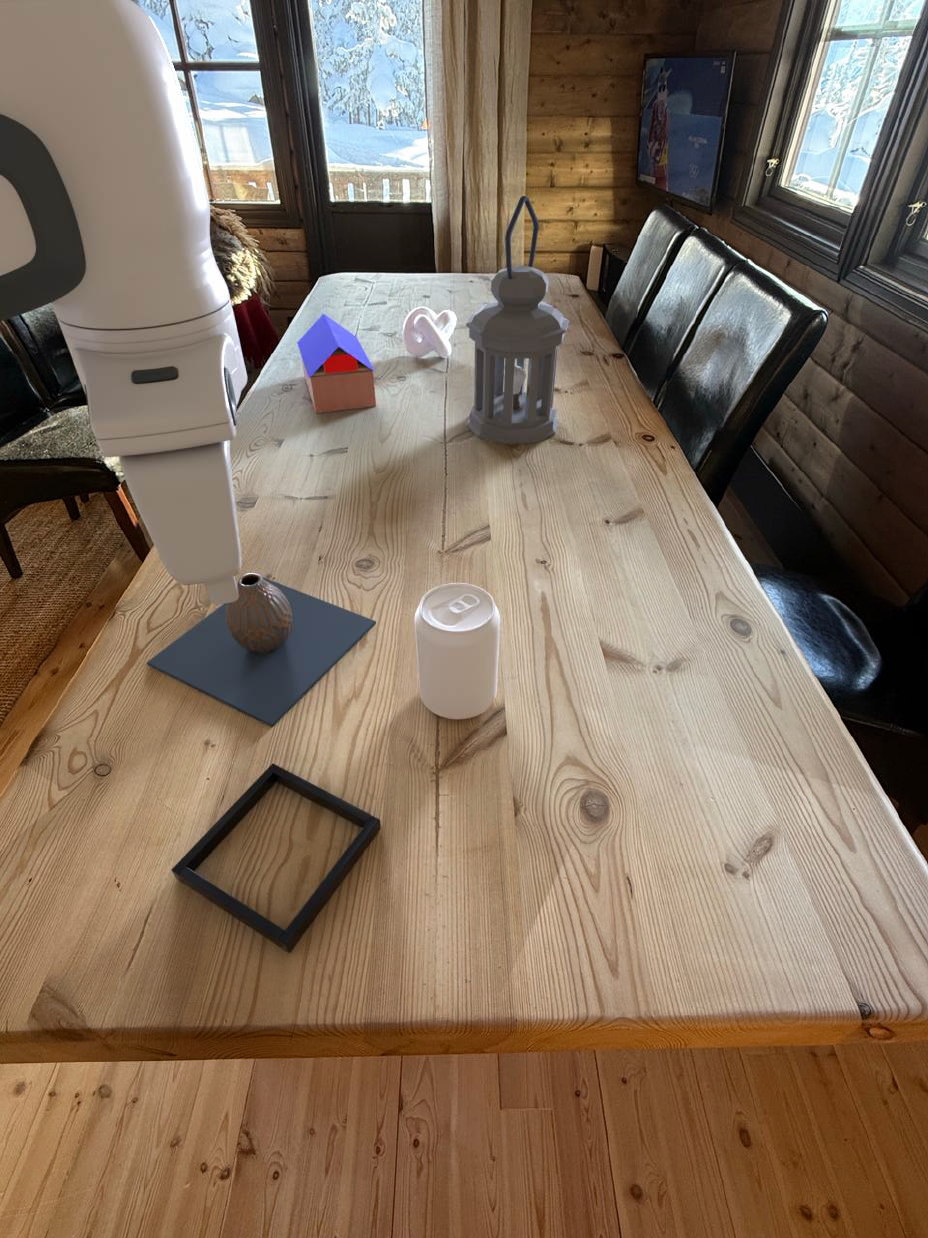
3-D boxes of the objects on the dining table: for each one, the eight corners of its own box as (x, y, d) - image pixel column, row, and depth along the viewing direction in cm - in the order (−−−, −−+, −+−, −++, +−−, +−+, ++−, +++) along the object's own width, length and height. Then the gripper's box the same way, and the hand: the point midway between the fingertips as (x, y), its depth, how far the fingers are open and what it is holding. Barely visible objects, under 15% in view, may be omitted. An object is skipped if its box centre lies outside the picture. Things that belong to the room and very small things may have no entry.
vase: (222, 653, 73) (201, 591, 67) (257, 615, 78) (241, 555, 72) (275, 668, 71) (259, 606, 66) (308, 629, 76) (295, 567, 71)
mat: (272, 727, 66) (271, 724, 65) (147, 664, 72) (146, 662, 72) (376, 623, 78) (375, 621, 77) (260, 578, 84) (260, 575, 84)
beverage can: (403, 692, 69) (396, 604, 61) (460, 655, 73) (459, 569, 66) (455, 736, 65) (454, 648, 57) (512, 695, 69) (518, 607, 61)
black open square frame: (289, 954, 49) (286, 945, 48) (176, 879, 54) (170, 869, 53) (381, 828, 57) (379, 819, 56) (275, 772, 62) (272, 762, 61)
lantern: (485, 399, 127) (489, 184, 104) (569, 412, 122) (593, 190, 99) (452, 435, 115) (449, 201, 92) (544, 451, 111) (565, 209, 88)
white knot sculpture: (465, 361, 143) (465, 317, 137) (411, 366, 140) (409, 322, 134) (452, 344, 151) (451, 302, 145) (400, 349, 148) (398, 306, 142)
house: (359, 369, 139) (353, 310, 131) (378, 406, 125) (372, 342, 117) (302, 375, 136) (292, 316, 129) (314, 414, 122) (304, 349, 114)
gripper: (112, 311, 44) (172, 493, 53) (86, 442, 29) (175, 662, 39) (210, 302, 46) (252, 480, 55) (232, 422, 31) (284, 638, 40)
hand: (220, 557), depth 46 cm, fingers open, 8 cm apart
